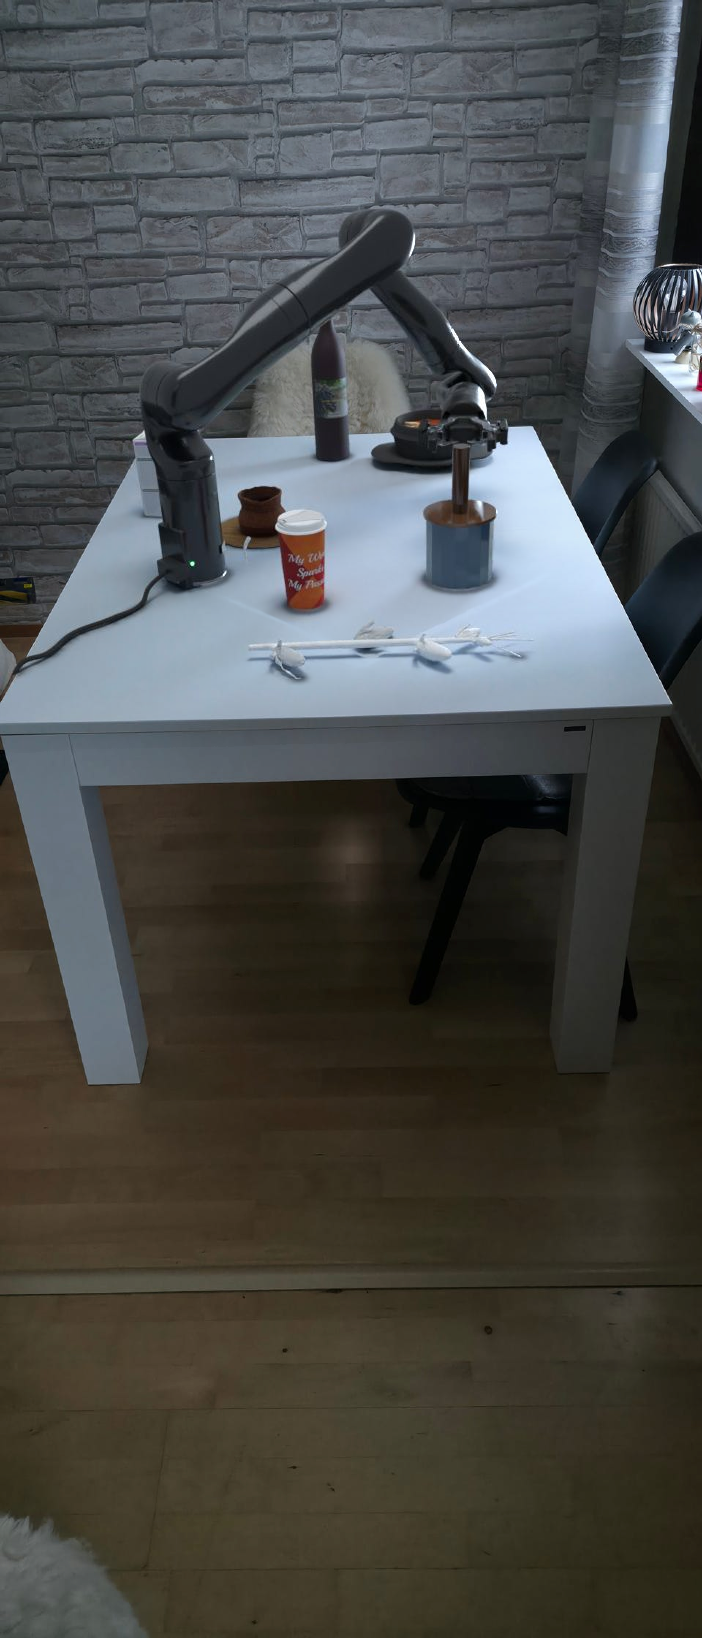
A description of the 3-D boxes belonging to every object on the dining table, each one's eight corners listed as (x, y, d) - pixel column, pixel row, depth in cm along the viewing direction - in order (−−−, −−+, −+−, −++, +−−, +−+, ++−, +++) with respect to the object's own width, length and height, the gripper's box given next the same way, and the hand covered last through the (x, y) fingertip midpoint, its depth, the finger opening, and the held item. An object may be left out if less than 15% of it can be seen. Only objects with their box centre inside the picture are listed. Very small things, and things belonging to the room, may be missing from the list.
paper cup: (294, 619, 169) (287, 530, 161) (273, 602, 175) (266, 514, 167) (340, 608, 172) (336, 519, 164) (318, 591, 178) (313, 504, 170)
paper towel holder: (463, 537, 167) (464, 462, 161) (407, 520, 174) (407, 447, 168) (511, 517, 174) (515, 444, 167) (456, 501, 181) (457, 430, 174)
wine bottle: (313, 461, 233) (304, 305, 216) (319, 451, 239) (311, 298, 222) (346, 461, 232) (340, 305, 215) (352, 451, 238) (346, 298, 221)
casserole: (488, 445, 238) (489, 404, 233) (497, 472, 223) (498, 429, 218) (370, 449, 239) (369, 408, 234) (371, 477, 223) (370, 434, 219)
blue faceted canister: (461, 597, 173) (463, 532, 168) (412, 580, 180) (412, 516, 174) (504, 577, 179) (507, 513, 173) (455, 561, 186) (456, 499, 180)
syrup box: (173, 517, 208) (163, 438, 200) (143, 516, 209) (131, 438, 201) (183, 507, 213) (173, 429, 204) (153, 506, 214) (142, 428, 205)
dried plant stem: (245, 681, 153) (539, 671, 152) (233, 542, 145) (543, 531, 144) (253, 655, 164) (528, 646, 162) (243, 525, 156) (532, 514, 154)
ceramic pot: (253, 557, 191) (249, 516, 187) (194, 531, 202) (189, 492, 198) (333, 529, 200) (332, 490, 196) (272, 506, 211) (270, 469, 207)
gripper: (421, 393, 185) (415, 421, 171) (508, 392, 183) (509, 420, 170) (421, 440, 189) (415, 470, 176) (506, 439, 187) (507, 470, 174)
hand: (461, 446), depth 173 cm, fingers open, 8 cm apart
